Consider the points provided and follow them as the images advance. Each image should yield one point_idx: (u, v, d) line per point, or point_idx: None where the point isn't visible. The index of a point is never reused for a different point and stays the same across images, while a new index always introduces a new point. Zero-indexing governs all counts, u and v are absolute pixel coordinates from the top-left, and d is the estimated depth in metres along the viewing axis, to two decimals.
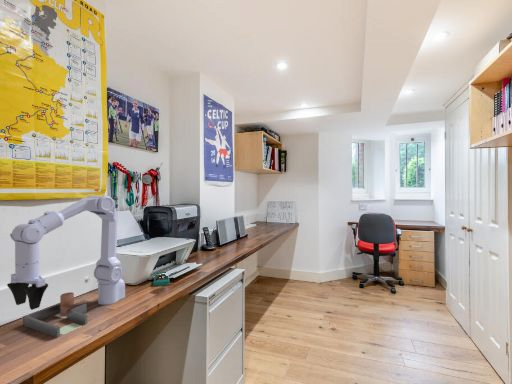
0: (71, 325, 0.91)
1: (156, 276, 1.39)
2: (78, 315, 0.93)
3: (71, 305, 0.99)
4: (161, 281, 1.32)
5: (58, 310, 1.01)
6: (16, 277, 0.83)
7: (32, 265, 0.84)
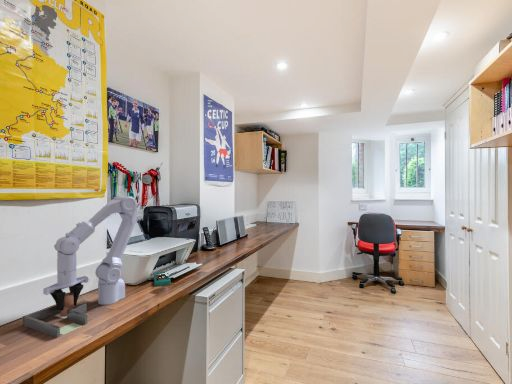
0: (71, 325, 0.91)
1: (156, 276, 1.39)
2: (78, 315, 0.93)
3: (71, 305, 0.99)
4: (162, 281, 1.32)
5: (58, 310, 1.01)
6: None
7: (58, 273, 0.97)
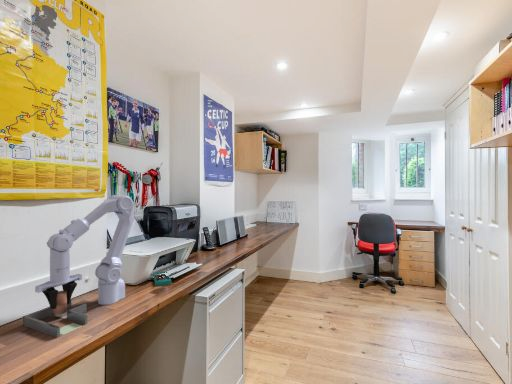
0: (71, 325, 0.91)
1: (156, 276, 1.38)
2: (78, 315, 0.93)
3: (64, 303, 0.97)
4: (163, 281, 1.32)
5: None
6: None
7: (51, 271, 0.95)
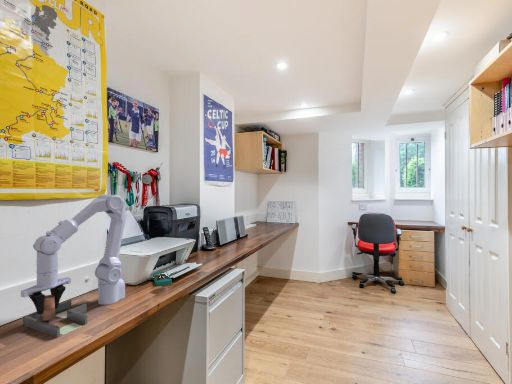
0: (71, 325, 0.91)
1: (156, 276, 1.38)
2: (78, 315, 0.93)
3: (52, 308, 0.93)
4: (164, 281, 1.32)
5: (58, 310, 1.01)
6: None
7: (37, 275, 0.91)
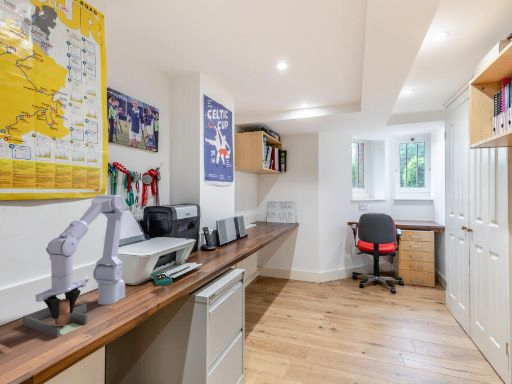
0: (71, 325, 0.91)
1: (156, 276, 1.38)
2: (78, 315, 0.93)
3: (67, 313, 0.90)
4: (165, 280, 1.33)
5: None
6: None
7: (52, 278, 0.88)
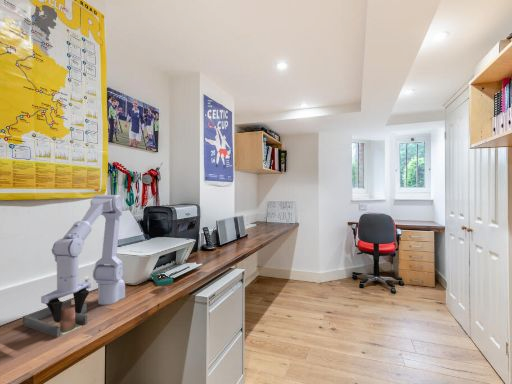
0: None
1: (156, 276, 1.38)
2: (78, 315, 0.93)
3: (72, 319, 0.89)
4: (165, 280, 1.33)
5: None
6: None
7: (58, 279, 0.87)
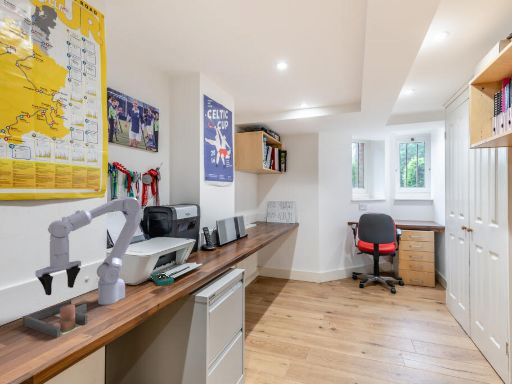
0: None
1: (156, 276, 1.38)
2: (78, 315, 0.93)
3: (72, 319, 0.89)
4: (166, 280, 1.33)
5: (58, 310, 1.01)
6: None
7: (50, 256, 0.97)
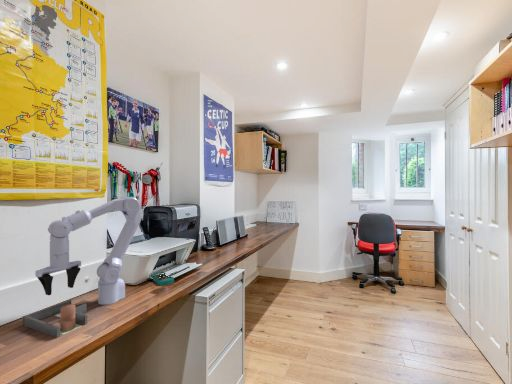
0: None
1: (156, 276, 1.38)
2: (78, 315, 0.93)
3: (72, 319, 0.89)
4: (167, 280, 1.34)
5: (58, 310, 1.01)
6: None
7: (50, 256, 0.97)
